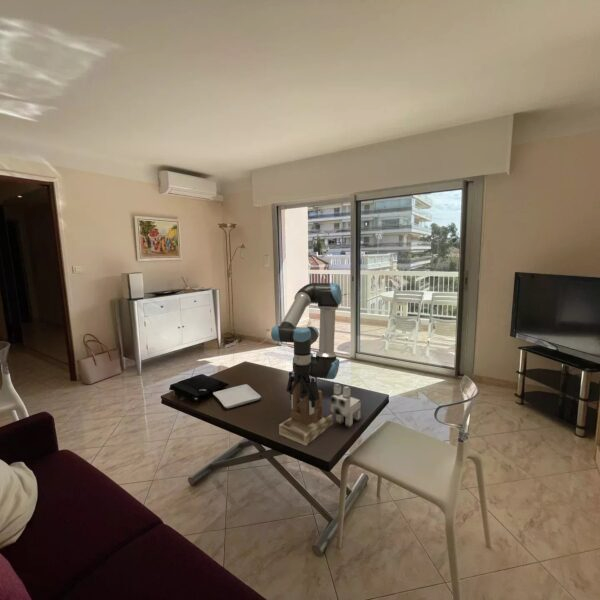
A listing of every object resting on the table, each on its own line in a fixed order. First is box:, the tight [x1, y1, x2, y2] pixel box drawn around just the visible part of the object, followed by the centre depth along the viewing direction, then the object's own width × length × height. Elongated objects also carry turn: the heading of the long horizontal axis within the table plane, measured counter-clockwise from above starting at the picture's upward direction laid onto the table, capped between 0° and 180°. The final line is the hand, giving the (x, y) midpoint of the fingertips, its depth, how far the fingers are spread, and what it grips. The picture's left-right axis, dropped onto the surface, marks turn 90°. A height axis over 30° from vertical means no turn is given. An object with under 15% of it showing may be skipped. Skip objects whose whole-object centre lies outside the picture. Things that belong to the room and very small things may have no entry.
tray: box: [278, 414, 334, 447], centre depth 148 cm, size 22×15×4 cm
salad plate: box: [212, 383, 262, 409], centre depth 180 cm, size 21×21×3 cm
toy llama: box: [330, 382, 362, 428], centre depth 153 cm, size 8×18×20 cm, turn 141°
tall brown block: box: [308, 389, 323, 423], centre depth 153 cm, size 6×4×14 cm, turn 143°
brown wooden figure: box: [290, 380, 312, 426], centre depth 144 cm, size 4×11×18 cm, turn 44°
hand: (302, 410), depth 144 cm, fingers open, 9 cm apart
